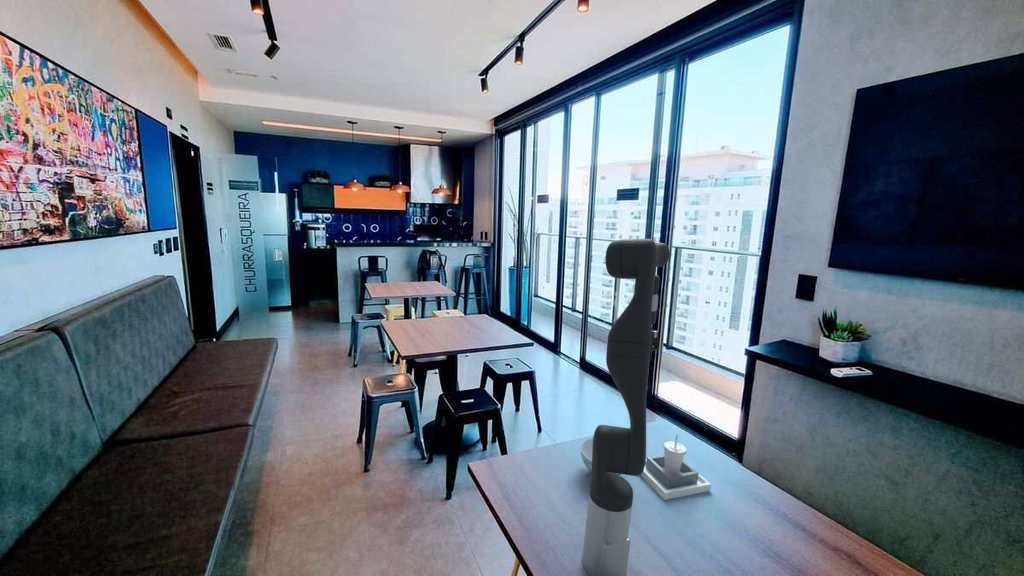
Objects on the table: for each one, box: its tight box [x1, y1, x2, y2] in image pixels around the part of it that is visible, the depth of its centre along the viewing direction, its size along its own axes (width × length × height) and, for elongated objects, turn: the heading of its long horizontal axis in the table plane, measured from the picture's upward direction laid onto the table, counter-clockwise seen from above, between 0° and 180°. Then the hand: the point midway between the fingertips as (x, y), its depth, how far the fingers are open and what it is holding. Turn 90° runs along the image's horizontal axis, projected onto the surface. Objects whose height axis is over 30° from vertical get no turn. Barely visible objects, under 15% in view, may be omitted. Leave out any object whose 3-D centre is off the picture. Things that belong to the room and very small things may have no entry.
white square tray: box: [640, 454, 712, 501], centre depth 123 cm, size 15×16×5 cm
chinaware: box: [579, 437, 622, 476], centre depth 123 cm, size 15×15×8 cm
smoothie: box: [663, 433, 687, 476], centre depth 121 cm, size 6×6×14 cm
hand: (638, 357), depth 128 cm, fingers open, 8 cm apart
